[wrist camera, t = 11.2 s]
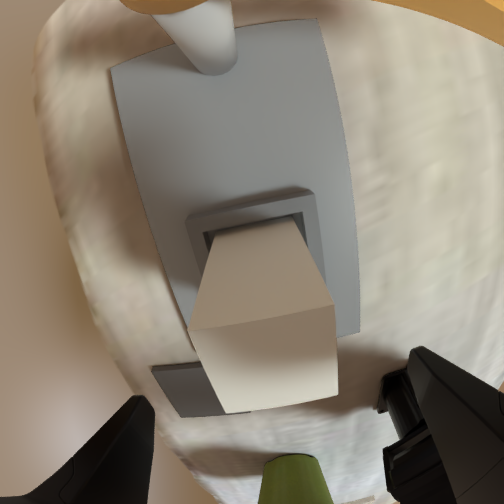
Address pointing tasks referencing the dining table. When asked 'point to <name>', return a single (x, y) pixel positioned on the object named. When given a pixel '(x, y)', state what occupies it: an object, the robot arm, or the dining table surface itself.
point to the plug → (265, 319)
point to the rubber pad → (189, 390)
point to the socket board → (240, 145)
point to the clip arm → (432, 3)
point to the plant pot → (294, 482)
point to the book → (363, 501)
